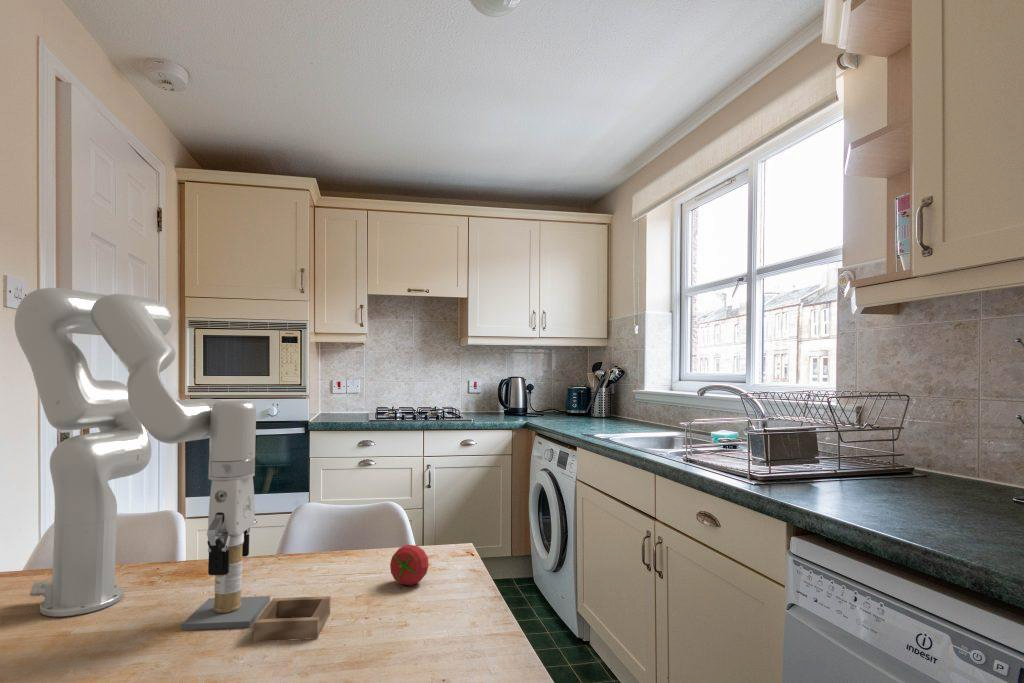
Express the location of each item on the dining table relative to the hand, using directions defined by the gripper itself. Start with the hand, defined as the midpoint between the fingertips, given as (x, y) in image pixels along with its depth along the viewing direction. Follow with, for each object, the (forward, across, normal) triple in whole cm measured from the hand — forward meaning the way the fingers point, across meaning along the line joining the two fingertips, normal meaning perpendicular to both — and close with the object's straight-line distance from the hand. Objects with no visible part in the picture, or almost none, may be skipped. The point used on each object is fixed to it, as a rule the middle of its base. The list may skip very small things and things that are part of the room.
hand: (229, 564), depth 103 cm
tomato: (+9, +12, -31) cm, 34 cm away
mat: (+9, 0, 0) cm, 9 cm away
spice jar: (+8, 0, 0) cm, 8 cm away
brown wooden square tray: (+9, -6, -13) cm, 17 cm away
